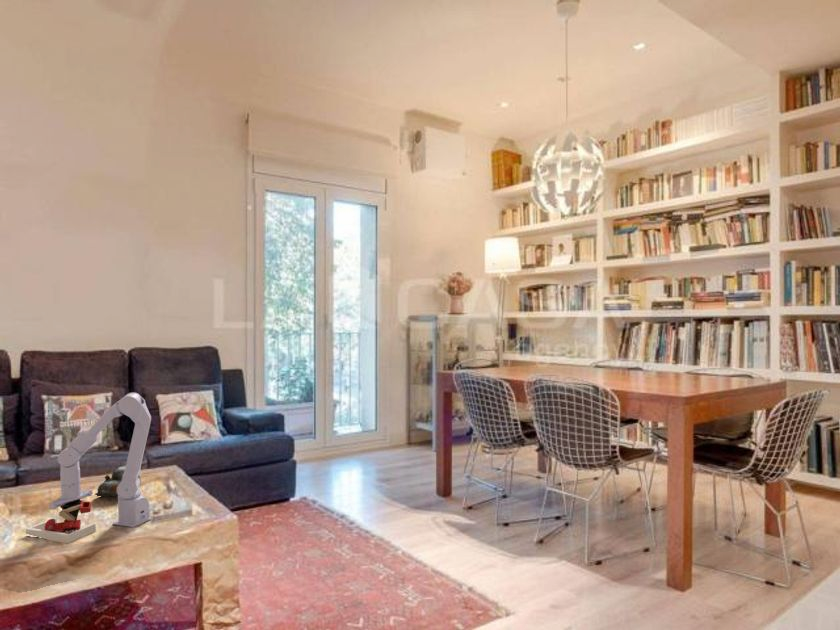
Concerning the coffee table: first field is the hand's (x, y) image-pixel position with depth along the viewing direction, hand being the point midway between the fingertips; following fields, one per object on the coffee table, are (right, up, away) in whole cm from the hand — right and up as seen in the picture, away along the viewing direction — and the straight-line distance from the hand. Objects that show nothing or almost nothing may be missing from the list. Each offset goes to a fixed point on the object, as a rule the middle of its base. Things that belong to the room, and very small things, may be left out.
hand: (72, 523), depth 197 cm
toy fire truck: (0, -2, -2) cm, 3 cm away
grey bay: (-1, -2, -4) cm, 5 cm away
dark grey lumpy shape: (-2, -2, +33) cm, 33 cm away
